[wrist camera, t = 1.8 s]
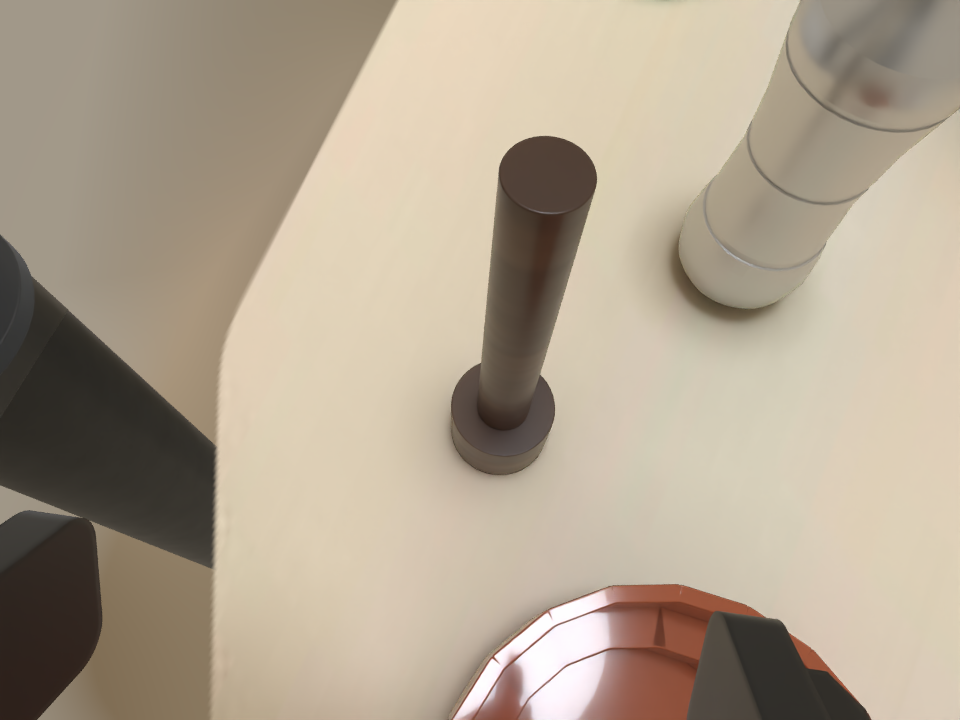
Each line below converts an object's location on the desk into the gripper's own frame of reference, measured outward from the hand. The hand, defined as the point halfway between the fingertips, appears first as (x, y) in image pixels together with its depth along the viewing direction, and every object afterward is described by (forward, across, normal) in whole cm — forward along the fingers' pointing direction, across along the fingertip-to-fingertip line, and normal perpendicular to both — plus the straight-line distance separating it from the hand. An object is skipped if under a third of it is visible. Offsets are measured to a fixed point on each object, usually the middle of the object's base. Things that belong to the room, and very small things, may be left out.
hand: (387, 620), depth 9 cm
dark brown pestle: (+22, 0, +6) cm, 23 cm away
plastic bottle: (+30, -11, -1) cm, 32 cm away
